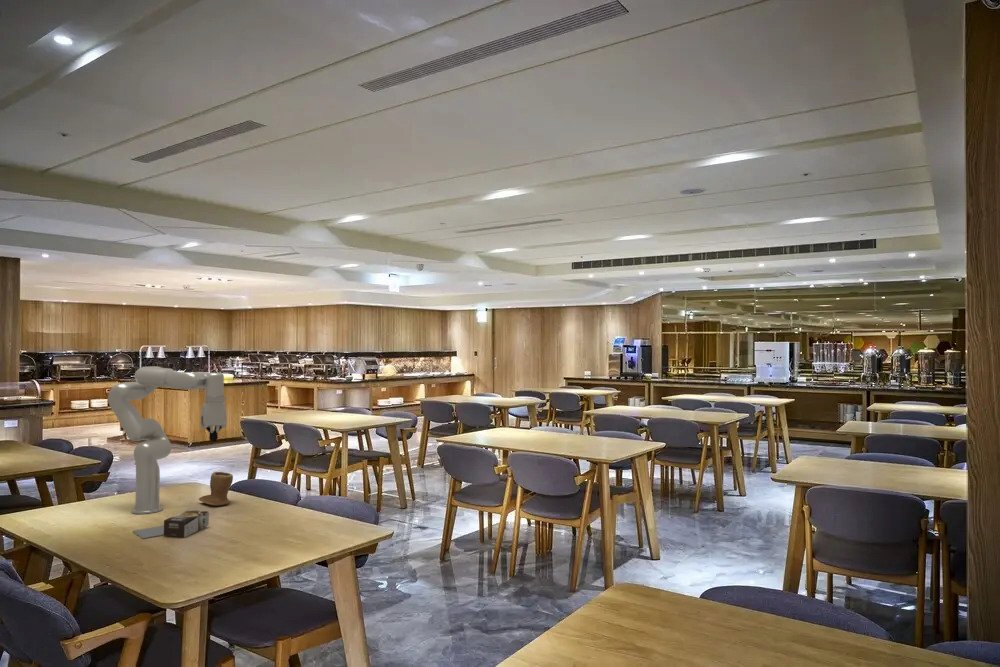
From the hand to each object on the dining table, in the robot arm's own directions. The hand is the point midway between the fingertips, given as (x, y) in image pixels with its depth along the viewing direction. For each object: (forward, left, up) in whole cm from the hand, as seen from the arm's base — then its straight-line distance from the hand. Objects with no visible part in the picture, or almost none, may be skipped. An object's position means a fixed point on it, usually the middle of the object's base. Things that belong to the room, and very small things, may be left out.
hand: (213, 441), depth 291 cm
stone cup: (-16, +8, -32) cm, 37 cm away
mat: (+16, -25, -32) cm, 44 cm away
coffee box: (+18, -12, -28) cm, 36 cm away
